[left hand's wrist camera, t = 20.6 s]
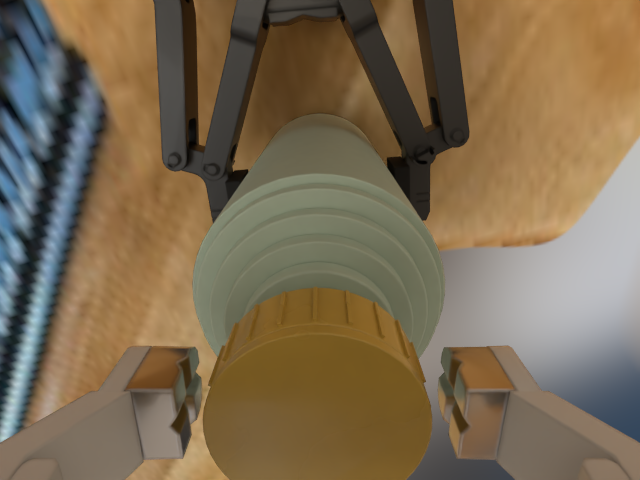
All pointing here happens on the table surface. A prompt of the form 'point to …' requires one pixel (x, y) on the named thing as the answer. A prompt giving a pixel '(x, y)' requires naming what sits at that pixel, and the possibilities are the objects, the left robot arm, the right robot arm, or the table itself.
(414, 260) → the bottle
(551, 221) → the table surface
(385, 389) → the cap
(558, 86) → the table surface
